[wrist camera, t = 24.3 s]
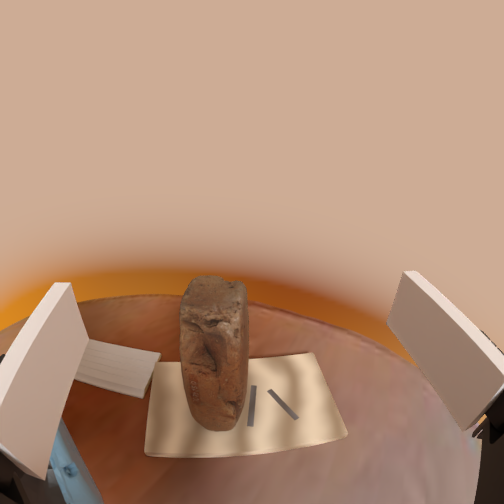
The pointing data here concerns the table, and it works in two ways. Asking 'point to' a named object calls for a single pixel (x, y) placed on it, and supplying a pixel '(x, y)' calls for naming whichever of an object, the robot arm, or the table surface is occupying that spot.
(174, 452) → the board
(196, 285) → the block
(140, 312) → the table surface
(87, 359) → the baseboard
